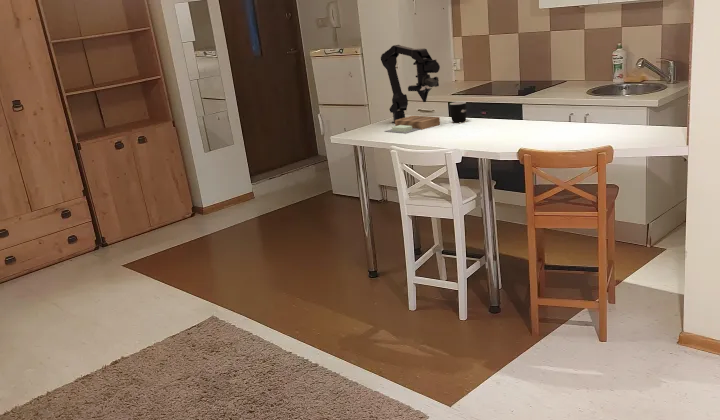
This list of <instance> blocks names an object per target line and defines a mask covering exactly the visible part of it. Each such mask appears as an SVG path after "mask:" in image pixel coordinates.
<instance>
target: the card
mask: <svg viewBox="0 0 720 420" xmlns="http://www.w3.org/2000/svg"><path fill="white" fill-rule="evenodd" d="M391 129H392V131H400V132H406V131H409V130H412V126H407V125H398V126H391Z"/></svg>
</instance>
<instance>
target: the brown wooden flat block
mask: <svg viewBox="0 0 720 420" xmlns="http://www.w3.org/2000/svg"><path fill="white" fill-rule="evenodd" d="M440 122H441V119H440V117H439V116H427V115H426V116H424V115H423V116H422V115H410V116H407V117H406V116H405V118H402V119H398V120H395V123H394V125H395V126H398V125H407V126H412V128H416V129H420V130H425V129H429V128H433V127H436V126H439V125H441V123H440Z"/></svg>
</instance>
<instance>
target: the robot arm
mask: <svg viewBox="0 0 720 420" xmlns="http://www.w3.org/2000/svg"><path fill="white" fill-rule="evenodd" d="M399 55H403V56H407V57H411V59H413V60H414V62H413V65H415V67H416V74H415V78H417V82H416V83H415V84H412V85H408V86H407V91H408V92H416V93H418V95H419V96H420V98H421V100H422V102H423V103H427V99H428V95H429V92H430V91H431V90H433V89H432V88H433V87H435V88H437V87H439V85H440V83H439V77H438V76H434V77H431V75H430V74H437V73H439V71H440V70H441V69H440V68H441V66H440V63H439V62H438V61H437V59H433V57H431V55H430V53H429V51H428V50H427V48H412V47H408V46H406V45H405V46H403V45H400V44H395V45H392V46H391V47H390V48H389V49H388V50H386V51H385V52H384V53H382V54H381V56H380V61H381V64H382V66H383V67H384V69H386V71H387V75H388V79H389V84H390V87H391V91H392V97H391V103H392V104H391V106H390V107H389V112H390V113H392V117H393V118H392V119H393V121H391V123H392V124H395V120H398V119H402V118H405V117H406V114H405V111H407V109H408V108H407V107H408V105H409V100H408V95H407V94H405V93H403V91H402V87H401V84H400V79H399V77H398V72H397V68H396V66H397V58H398V57H399Z"/></svg>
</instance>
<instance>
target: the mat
mask: <svg viewBox="0 0 720 420" xmlns="http://www.w3.org/2000/svg"><path fill="white" fill-rule="evenodd" d="M420 130H421V129H416V128H412V130H409V131H406V132H400V131H392V128H390V129H387V130H384V132H385V133H396V134H409V133H413V132H417V131H420Z"/></svg>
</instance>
